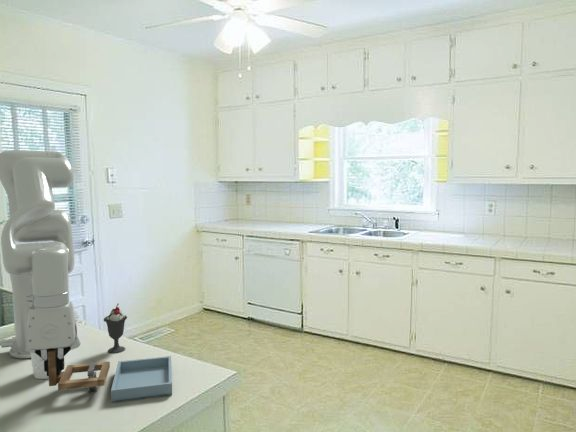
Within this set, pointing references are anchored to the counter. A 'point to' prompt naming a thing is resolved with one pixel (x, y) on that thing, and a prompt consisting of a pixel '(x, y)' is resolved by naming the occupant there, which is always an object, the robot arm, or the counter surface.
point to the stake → (92, 376)
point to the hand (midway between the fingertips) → (54, 372)
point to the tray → (142, 379)
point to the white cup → (38, 367)
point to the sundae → (116, 328)
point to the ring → (65, 376)
